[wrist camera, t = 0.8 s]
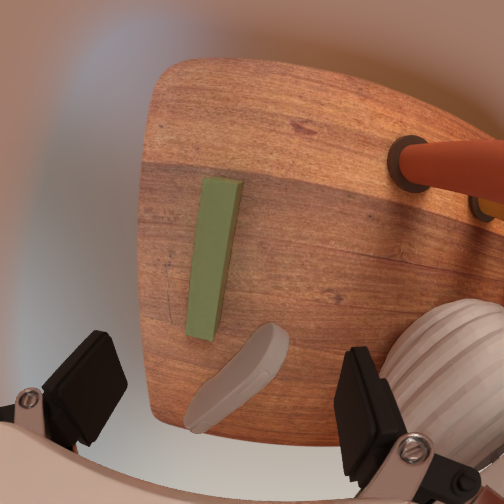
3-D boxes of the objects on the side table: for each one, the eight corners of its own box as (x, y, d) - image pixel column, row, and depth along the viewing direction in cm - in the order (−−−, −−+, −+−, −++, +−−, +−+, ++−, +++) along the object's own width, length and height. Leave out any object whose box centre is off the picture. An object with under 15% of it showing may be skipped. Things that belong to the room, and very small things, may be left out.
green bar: (195, 316, 31) (185, 335, 27) (213, 175, 26) (203, 177, 22) (220, 321, 31) (212, 342, 27) (243, 180, 26) (238, 183, 22)
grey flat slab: (204, 401, 36) (191, 444, 28) (191, 394, 35) (176, 436, 27) (290, 319, 30) (293, 368, 22) (274, 308, 30) (273, 356, 22)
